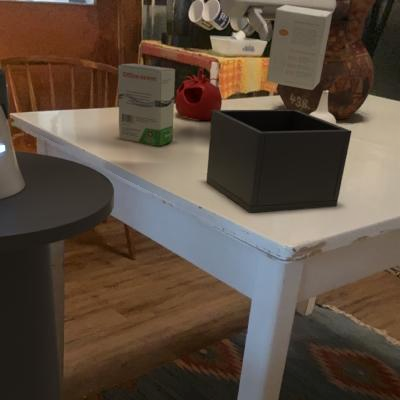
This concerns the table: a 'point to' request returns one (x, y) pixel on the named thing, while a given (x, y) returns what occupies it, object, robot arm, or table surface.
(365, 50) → the brown curved lobed piece
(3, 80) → the robot arm
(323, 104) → the garlic bulb
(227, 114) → the trash bin
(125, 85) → the ink box
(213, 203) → the table surface
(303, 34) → the small box
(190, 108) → the pomegranate
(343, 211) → the table surface
